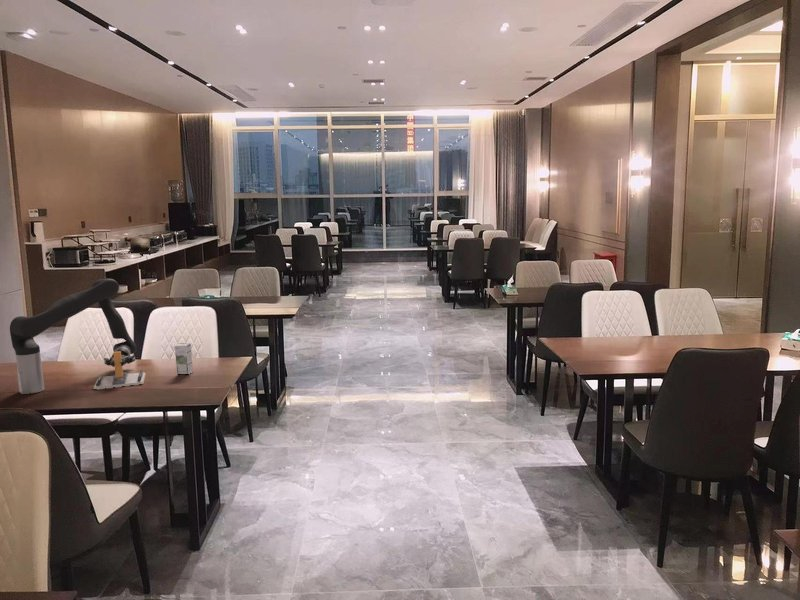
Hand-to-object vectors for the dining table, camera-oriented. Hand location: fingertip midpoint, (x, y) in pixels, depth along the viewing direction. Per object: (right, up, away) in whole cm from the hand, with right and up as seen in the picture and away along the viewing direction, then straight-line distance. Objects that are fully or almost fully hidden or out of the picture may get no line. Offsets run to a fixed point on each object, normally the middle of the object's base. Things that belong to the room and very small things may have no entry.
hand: (117, 364), depth 283 cm
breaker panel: (-1, -9, +6) cm, 11 cm away
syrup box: (+25, -6, +17) cm, 31 cm away
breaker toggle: (-1, -7, +4) cm, 8 cm away
